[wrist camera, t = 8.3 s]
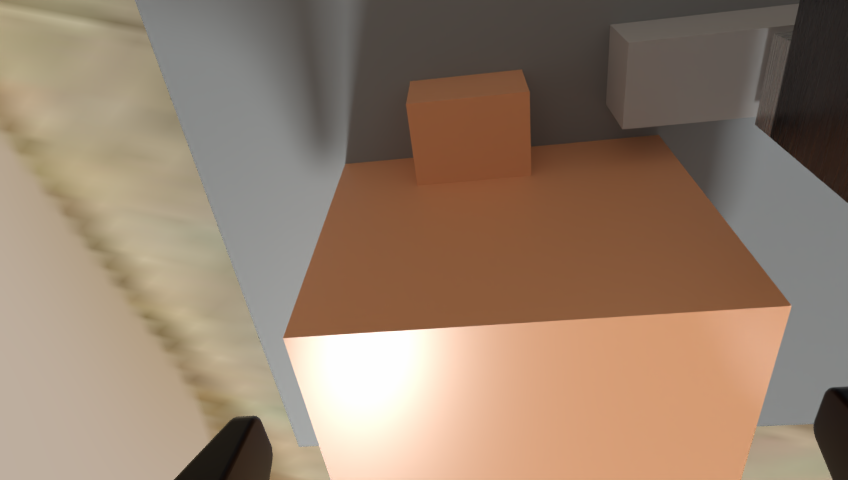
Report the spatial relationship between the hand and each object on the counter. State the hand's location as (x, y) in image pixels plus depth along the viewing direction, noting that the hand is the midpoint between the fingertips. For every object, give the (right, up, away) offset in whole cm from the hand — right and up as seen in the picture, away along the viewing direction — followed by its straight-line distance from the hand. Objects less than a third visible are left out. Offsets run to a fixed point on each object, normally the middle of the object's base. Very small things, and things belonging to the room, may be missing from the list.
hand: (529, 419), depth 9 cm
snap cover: (0, +2, +3) cm, 4 cm away
